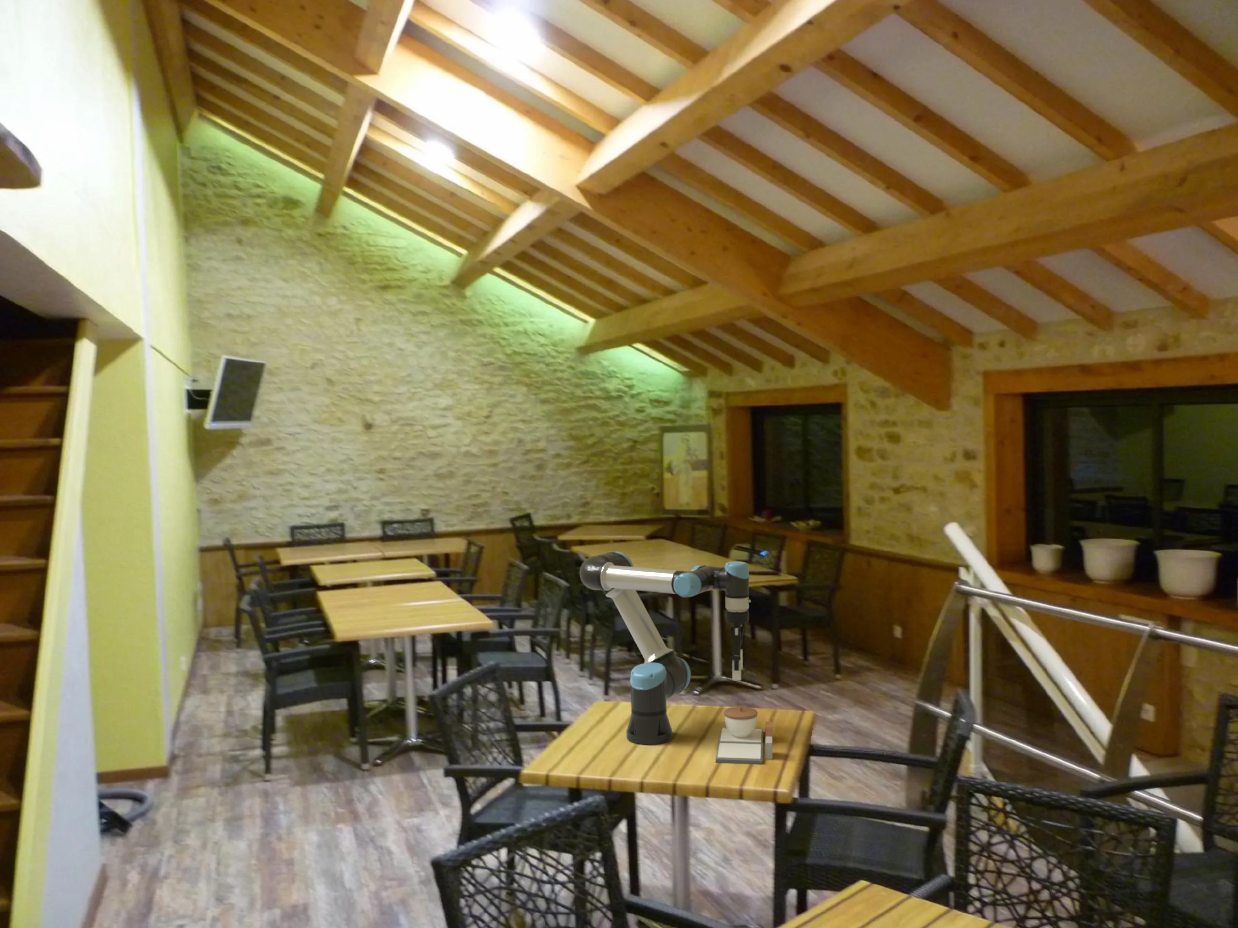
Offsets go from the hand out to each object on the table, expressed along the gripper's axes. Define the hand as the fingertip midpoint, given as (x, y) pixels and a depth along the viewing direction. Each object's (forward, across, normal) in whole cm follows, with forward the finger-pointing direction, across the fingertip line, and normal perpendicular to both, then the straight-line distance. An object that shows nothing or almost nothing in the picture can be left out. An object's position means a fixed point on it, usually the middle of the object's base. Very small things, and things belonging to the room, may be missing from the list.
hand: (737, 674), depth 310 cm
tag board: (+21, -8, -3) cm, 23 cm away
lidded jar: (+20, -1, -1) cm, 20 cm away
